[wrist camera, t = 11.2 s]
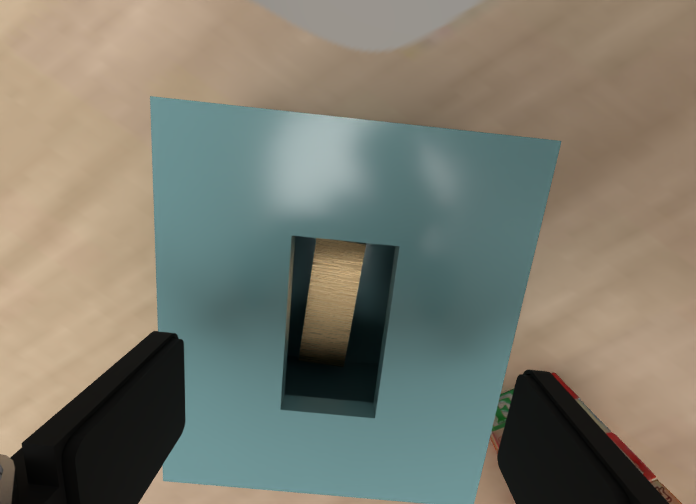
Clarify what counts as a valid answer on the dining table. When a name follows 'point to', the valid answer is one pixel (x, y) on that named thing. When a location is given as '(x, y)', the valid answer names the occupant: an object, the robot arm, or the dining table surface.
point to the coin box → (371, 302)
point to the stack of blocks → (506, 400)
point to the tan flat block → (331, 301)
